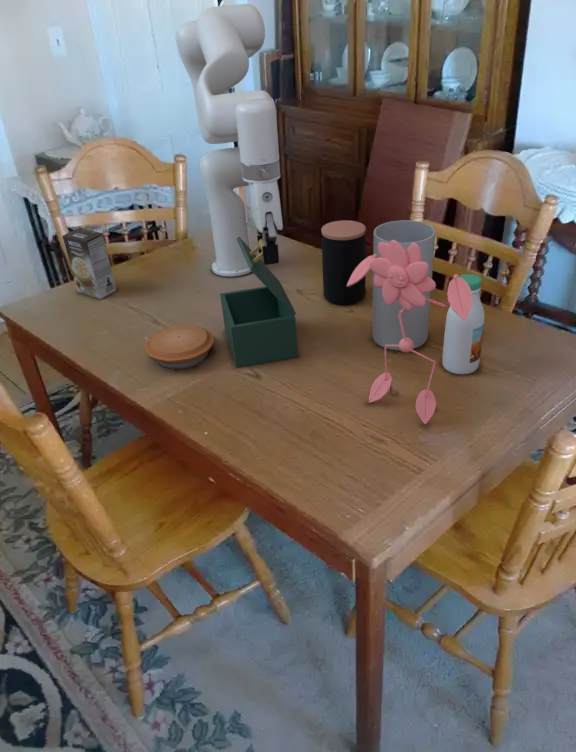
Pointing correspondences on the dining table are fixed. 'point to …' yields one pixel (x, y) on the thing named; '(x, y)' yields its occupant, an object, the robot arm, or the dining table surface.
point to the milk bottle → (464, 333)
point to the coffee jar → (343, 261)
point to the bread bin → (258, 327)
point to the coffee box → (89, 262)
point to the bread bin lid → (265, 273)
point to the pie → (180, 346)
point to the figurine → (408, 305)
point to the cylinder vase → (386, 315)
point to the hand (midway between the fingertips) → (268, 257)
